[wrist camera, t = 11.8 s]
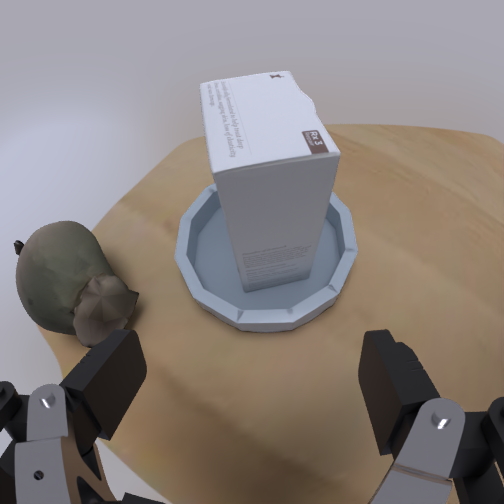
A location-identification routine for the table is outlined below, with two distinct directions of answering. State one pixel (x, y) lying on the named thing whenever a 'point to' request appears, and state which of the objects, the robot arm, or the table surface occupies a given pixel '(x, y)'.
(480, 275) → the table surface
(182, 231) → the bowl
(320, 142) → the skincare box
